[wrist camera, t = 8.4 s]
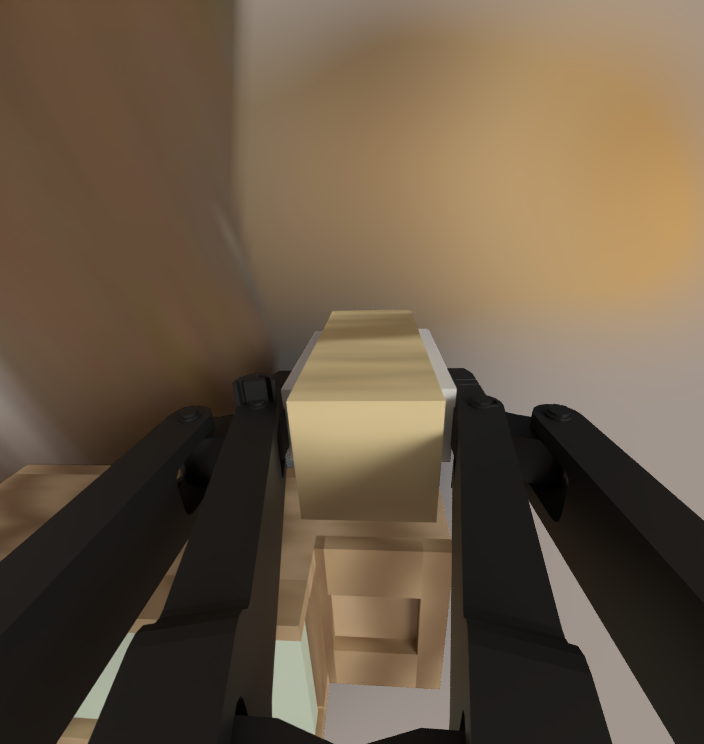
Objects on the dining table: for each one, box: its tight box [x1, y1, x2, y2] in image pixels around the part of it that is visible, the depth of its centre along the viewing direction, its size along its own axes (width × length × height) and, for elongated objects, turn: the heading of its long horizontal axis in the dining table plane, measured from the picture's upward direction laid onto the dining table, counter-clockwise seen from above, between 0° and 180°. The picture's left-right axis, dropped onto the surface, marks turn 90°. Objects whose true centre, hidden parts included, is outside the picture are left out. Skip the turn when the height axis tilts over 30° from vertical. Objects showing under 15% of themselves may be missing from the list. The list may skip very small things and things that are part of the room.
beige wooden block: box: [286, 309, 446, 523], centre depth 14 cm, size 4×4×10 cm
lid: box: [74, 622, 318, 735], centre depth 18 cm, size 21×9×3 cm, turn 92°
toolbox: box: [0, 465, 452, 744], centre depth 22 cm, size 29×12×10 cm, turn 92°
